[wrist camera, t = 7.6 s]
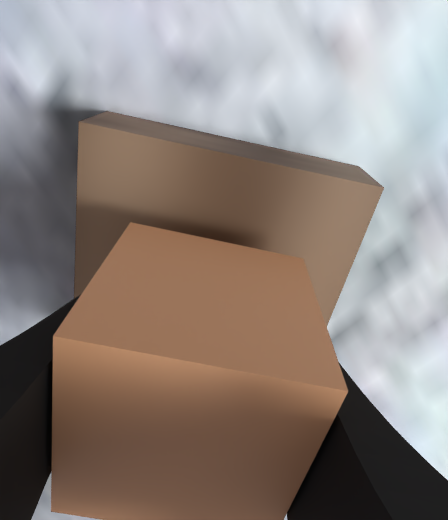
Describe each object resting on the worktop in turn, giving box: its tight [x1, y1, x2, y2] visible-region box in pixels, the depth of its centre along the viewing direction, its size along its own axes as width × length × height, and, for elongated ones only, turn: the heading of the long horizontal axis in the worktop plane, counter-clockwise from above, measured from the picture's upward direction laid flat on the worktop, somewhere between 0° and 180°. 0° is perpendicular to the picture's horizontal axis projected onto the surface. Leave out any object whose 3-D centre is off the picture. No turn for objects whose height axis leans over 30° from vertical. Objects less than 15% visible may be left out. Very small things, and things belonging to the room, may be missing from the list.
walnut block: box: [74, 111, 384, 327], centre depth 14 cm, size 9×9×3 cm
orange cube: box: [51, 222, 348, 520], centre depth 10 cm, size 5×5×5 cm
